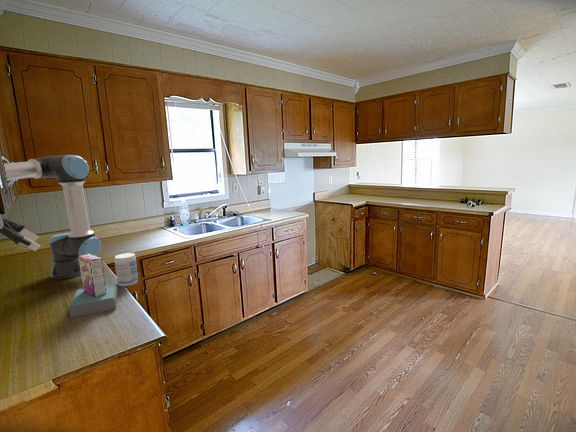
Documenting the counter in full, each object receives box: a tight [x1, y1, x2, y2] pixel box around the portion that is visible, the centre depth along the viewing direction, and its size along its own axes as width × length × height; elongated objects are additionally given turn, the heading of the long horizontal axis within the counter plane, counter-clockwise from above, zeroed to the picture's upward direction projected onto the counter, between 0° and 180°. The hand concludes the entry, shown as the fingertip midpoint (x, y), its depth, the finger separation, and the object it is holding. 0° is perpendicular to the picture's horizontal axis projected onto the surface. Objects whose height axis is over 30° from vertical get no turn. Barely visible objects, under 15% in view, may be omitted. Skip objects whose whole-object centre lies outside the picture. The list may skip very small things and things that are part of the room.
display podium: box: [68, 283, 119, 319], centre depth 134 cm, size 18×16×5 cm
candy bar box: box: [78, 254, 106, 297], centre depth 133 cm, size 11×5×16 cm, turn 56°
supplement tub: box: [114, 252, 139, 287], centre depth 156 cm, size 10×10×15 cm
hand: (37, 243), depth 132 cm, fingers open, 13 cm apart
